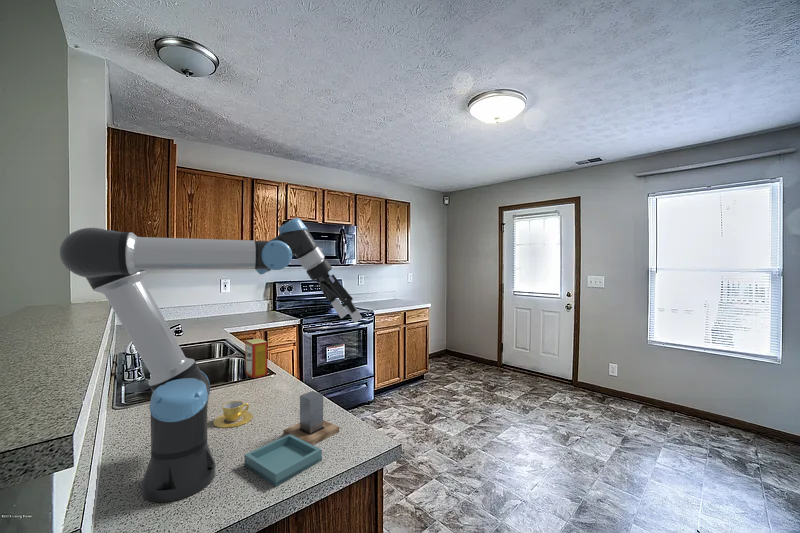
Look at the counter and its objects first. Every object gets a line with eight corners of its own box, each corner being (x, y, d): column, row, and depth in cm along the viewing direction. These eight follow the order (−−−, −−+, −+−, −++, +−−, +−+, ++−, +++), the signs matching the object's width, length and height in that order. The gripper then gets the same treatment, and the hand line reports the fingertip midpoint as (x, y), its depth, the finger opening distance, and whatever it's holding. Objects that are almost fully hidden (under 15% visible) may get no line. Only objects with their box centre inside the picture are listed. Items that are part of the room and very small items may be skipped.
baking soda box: (267, 375, 164) (267, 341, 164) (253, 378, 160) (252, 343, 159) (259, 370, 171) (259, 337, 171) (245, 373, 167) (245, 339, 166)
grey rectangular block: (310, 439, 108) (310, 399, 107) (299, 434, 111) (299, 395, 110) (323, 432, 112) (323, 394, 111) (312, 427, 114) (312, 390, 114)
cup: (218, 432, 111) (218, 415, 111) (209, 419, 120) (209, 403, 120) (257, 421, 119) (257, 405, 119) (246, 409, 128) (246, 394, 128)
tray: (276, 486, 85) (276, 474, 85) (244, 465, 93) (244, 454, 93) (321, 460, 96) (321, 449, 96) (289, 443, 105) (289, 433, 105)
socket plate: (308, 447, 103) (308, 442, 103) (283, 434, 110) (283, 430, 110) (339, 431, 112) (339, 426, 112) (314, 420, 119) (314, 416, 119)
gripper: (337, 255, 103) (375, 314, 108) (315, 259, 125) (347, 308, 130) (316, 269, 100) (355, 329, 105) (297, 271, 122) (330, 320, 127)
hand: (351, 318), depth 118 cm, fingers open, 13 cm apart
